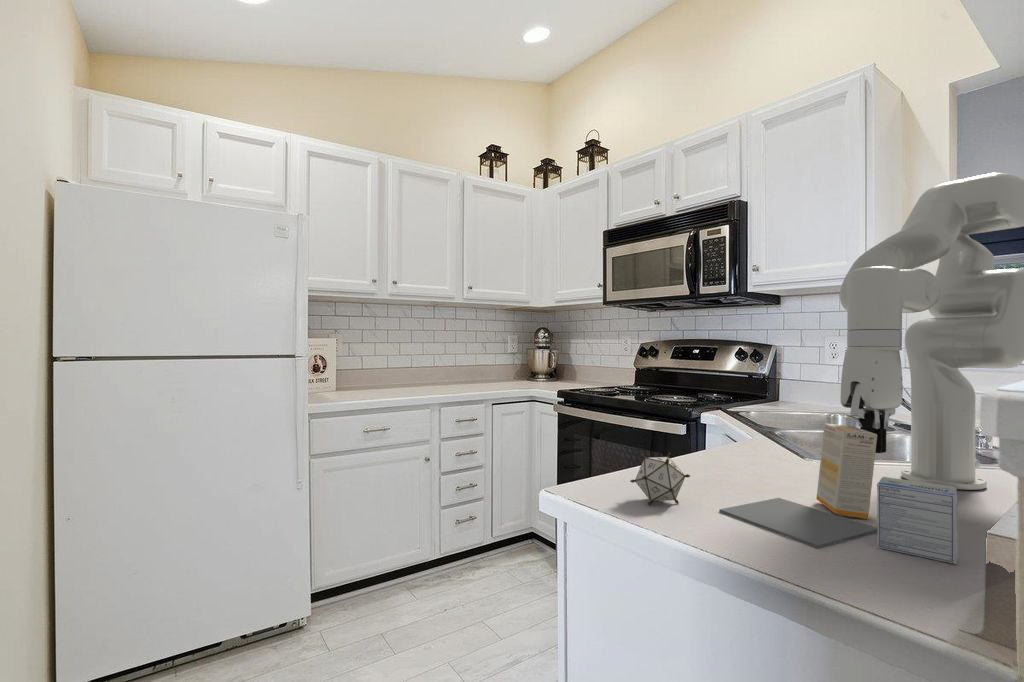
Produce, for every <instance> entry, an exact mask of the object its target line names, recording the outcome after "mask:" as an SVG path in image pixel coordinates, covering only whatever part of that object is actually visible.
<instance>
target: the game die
mask: <svg viewBox="0 0 1024 682" xmlns="http://www.w3.org/2000/svg"><path fill="white" fill-rule="evenodd" d="M640 455H641V457H642V459H643V460H642V463H641V464H640V467H639V470H638V472H637V475H636V477H635V479H631V480H630V481H629V482H630V483H632V484H633V483H636V485H637V486H638V487H639V488H640V489H641V491H642V492H643V493H644V494H645V496H646V497H647V498H648V500H649V501H648V503H647V504H648V506H651V505H652V504H653V503H652V502H659V501H661V502H662V501H663V502H664V501H674V503H675V504H677V505H680V504H679V500H678V499H677V497H678V495H679V492H680V490H681V489H682V486H683V482H684V480H685V479H686V478H690V477H691V475H690V474H688V473H687V474H684V472H682V470H681V469H680V468H679V467H678V465H676V463H674V461H673V460H672V459H671V458H670V457H671V455H672V454H671V452H668V453H667V454H666V456H652V457H647V456H646V455H645V454H644V453H641V454H640Z"/></svg>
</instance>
